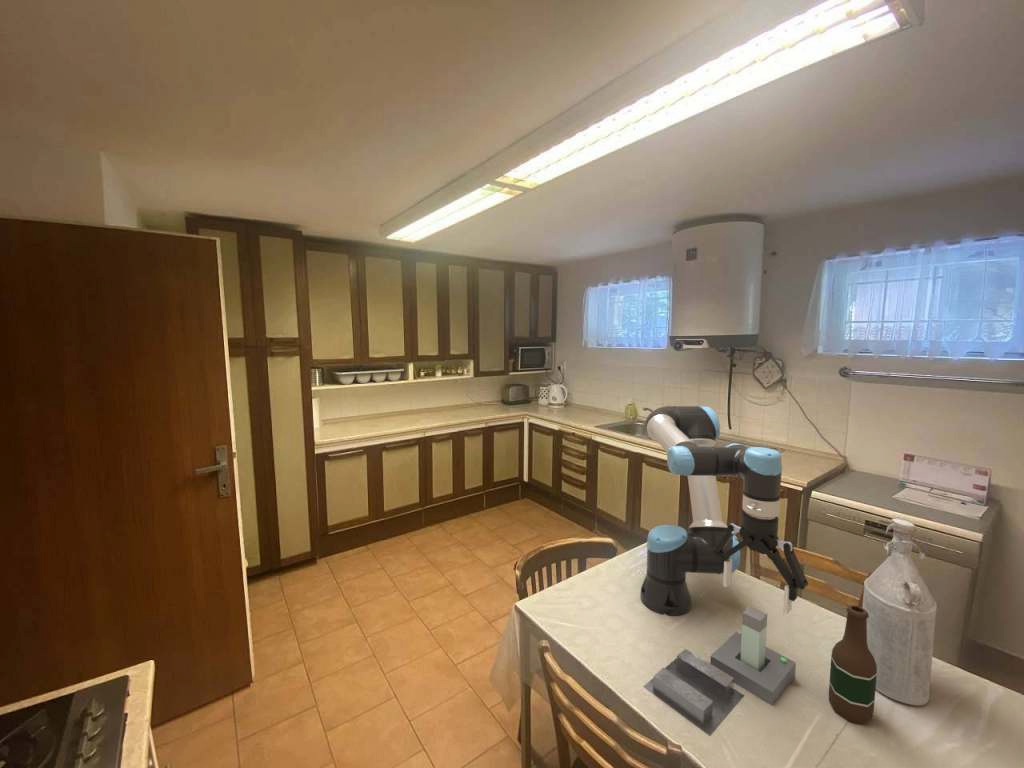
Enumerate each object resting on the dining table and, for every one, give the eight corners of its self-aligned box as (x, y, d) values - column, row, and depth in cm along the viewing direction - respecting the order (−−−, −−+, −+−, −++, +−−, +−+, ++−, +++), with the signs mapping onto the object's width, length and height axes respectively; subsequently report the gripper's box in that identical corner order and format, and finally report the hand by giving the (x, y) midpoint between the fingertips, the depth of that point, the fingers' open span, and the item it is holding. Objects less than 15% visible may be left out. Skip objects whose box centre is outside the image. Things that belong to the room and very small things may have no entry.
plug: (739, 673, 104) (742, 612, 102) (746, 665, 106) (749, 606, 105) (757, 683, 101) (760, 620, 99) (764, 675, 103) (767, 614, 102)
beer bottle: (819, 697, 97) (826, 599, 94) (850, 694, 97) (858, 597, 95) (849, 727, 89) (857, 621, 87) (882, 724, 90) (891, 619, 87)
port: (710, 670, 105) (710, 653, 104) (735, 645, 113) (736, 629, 113) (771, 708, 94) (772, 689, 93) (794, 677, 102) (796, 660, 102)
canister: (869, 698, 96) (882, 532, 92) (850, 649, 112) (860, 505, 108) (944, 720, 90) (962, 544, 87) (913, 665, 106) (926, 514, 102)
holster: (643, 689, 99) (643, 672, 99) (679, 658, 109) (680, 642, 109) (709, 739, 87) (710, 720, 86) (744, 698, 96) (745, 681, 96)
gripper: (701, 501, 107) (698, 580, 109) (816, 536, 88) (810, 631, 90) (715, 494, 112) (712, 570, 114) (828, 526, 92) (822, 617, 94)
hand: (755, 597), depth 102 cm, fingers open, 13 cm apart
